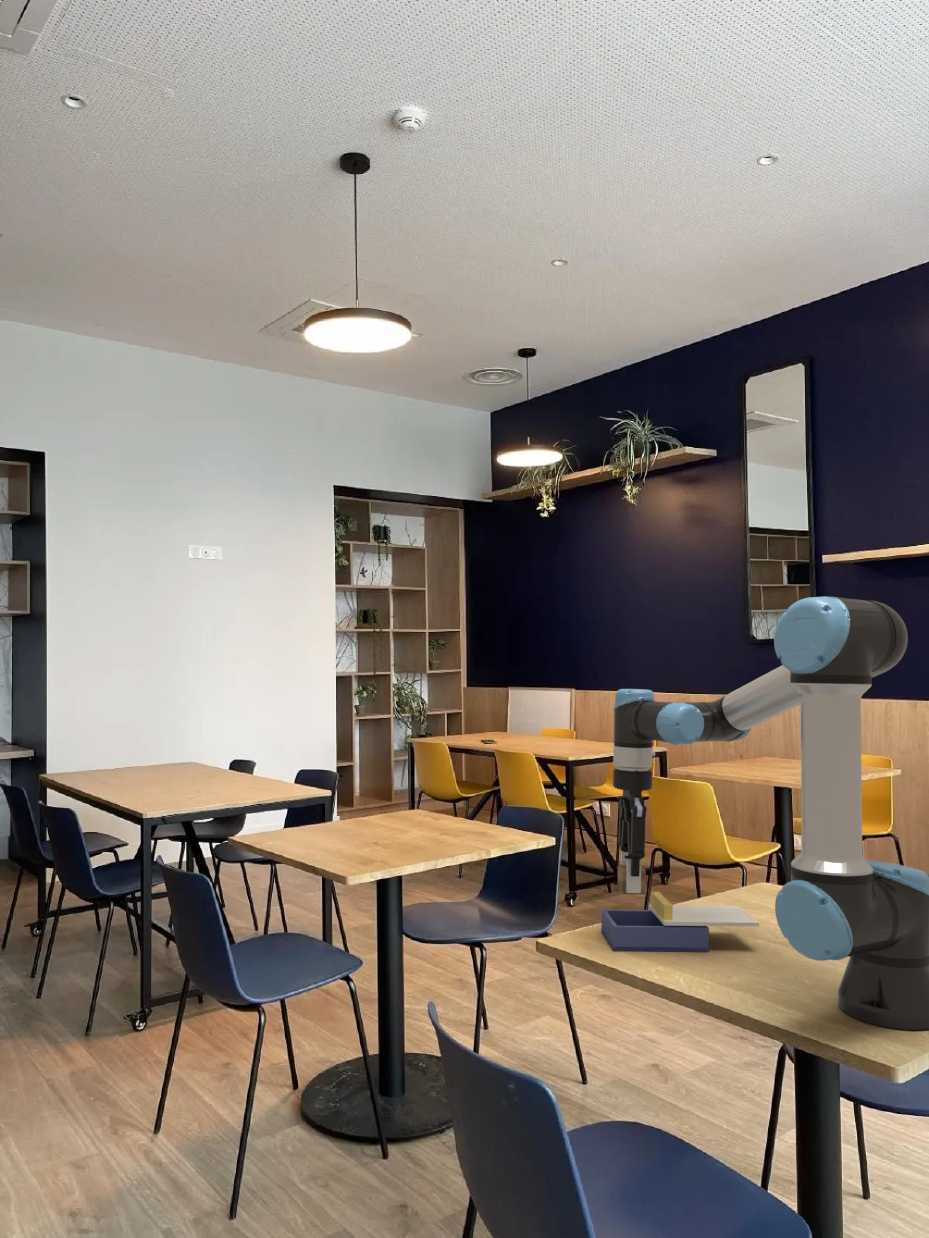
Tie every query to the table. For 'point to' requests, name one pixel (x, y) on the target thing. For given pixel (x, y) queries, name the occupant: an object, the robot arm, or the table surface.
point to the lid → (698, 914)
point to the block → (623, 880)
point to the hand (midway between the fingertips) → (630, 888)
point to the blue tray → (650, 933)
